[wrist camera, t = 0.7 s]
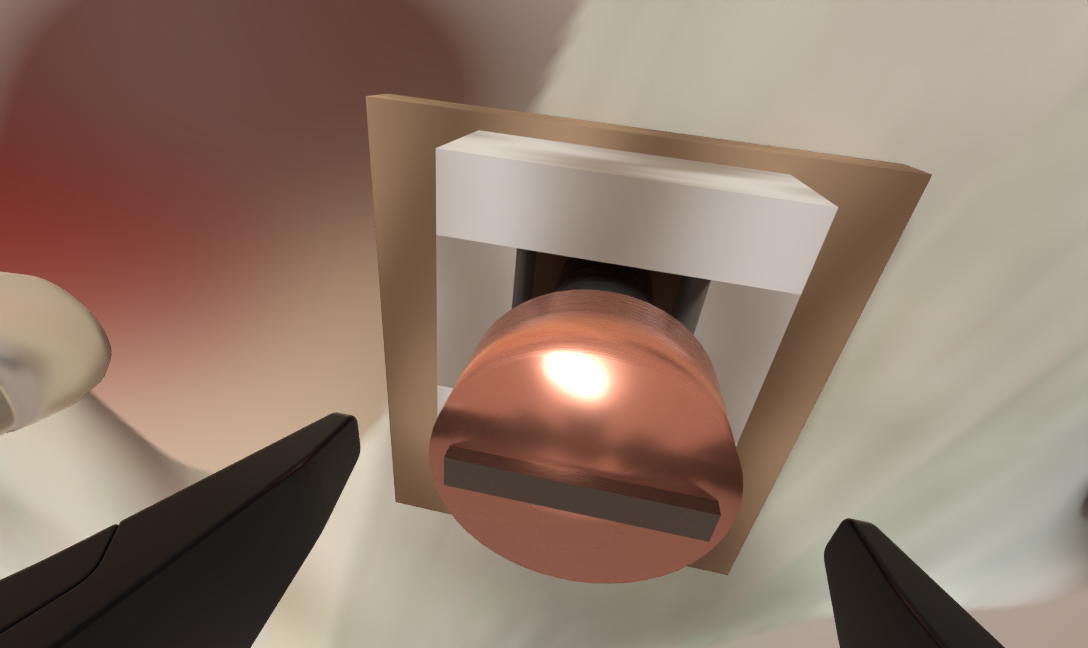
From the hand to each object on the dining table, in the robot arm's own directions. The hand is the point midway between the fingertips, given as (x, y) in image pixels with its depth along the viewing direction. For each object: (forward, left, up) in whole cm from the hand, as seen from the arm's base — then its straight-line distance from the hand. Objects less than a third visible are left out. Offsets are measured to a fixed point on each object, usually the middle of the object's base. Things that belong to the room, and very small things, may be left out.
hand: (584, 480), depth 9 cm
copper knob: (0, 0, -8) cm, 8 cm away
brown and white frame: (0, +4, -10) cm, 10 cm away
